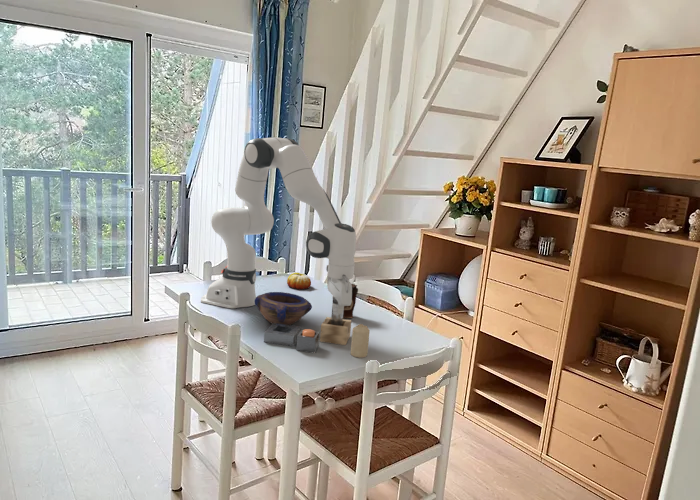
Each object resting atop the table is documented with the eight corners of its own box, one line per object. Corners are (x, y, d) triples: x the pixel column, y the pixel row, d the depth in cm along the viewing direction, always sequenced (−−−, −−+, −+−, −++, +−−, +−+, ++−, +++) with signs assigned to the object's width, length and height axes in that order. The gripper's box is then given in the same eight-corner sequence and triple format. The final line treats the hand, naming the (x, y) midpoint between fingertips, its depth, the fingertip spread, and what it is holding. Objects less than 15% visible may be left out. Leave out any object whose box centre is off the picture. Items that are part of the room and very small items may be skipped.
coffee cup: (353, 321, 206) (356, 289, 203) (332, 318, 207) (335, 286, 205) (357, 314, 214) (360, 283, 212) (337, 311, 216) (340, 281, 213)
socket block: (263, 341, 177) (264, 332, 176) (272, 332, 187) (273, 322, 186) (292, 346, 175) (293, 336, 175) (300, 336, 185) (301, 326, 184)
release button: (300, 345, 173) (301, 332, 172) (303, 341, 177) (304, 328, 176) (312, 347, 172) (313, 334, 171) (315, 342, 176) (316, 330, 175)
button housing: (296, 350, 172) (297, 335, 171) (301, 343, 178) (302, 329, 177) (314, 352, 171) (315, 338, 170) (318, 346, 177) (319, 332, 176)
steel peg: (331, 330, 182) (334, 300, 180) (329, 326, 186) (331, 296, 184) (343, 330, 183) (345, 300, 181) (340, 326, 187) (343, 296, 185)
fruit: (285, 288, 242) (286, 271, 242) (287, 289, 252) (288, 272, 253) (310, 290, 242) (311, 272, 243) (310, 290, 253) (311, 274, 253)
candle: (349, 350, 176) (352, 322, 174) (366, 351, 176) (369, 323, 174) (351, 357, 170) (353, 327, 168) (368, 358, 171) (371, 328, 169)
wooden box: (319, 341, 182) (321, 324, 180) (325, 332, 190) (326, 317, 189) (345, 345, 180) (347, 328, 179) (350, 336, 189) (351, 320, 188)
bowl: (316, 324, 198) (318, 299, 196) (277, 333, 186) (279, 306, 184) (287, 311, 211) (288, 287, 209) (248, 319, 198) (250, 293, 196)
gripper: (358, 279, 172) (354, 320, 174) (342, 265, 191) (339, 301, 194) (339, 279, 170) (335, 320, 173) (325, 264, 189) (322, 301, 192)
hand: (337, 310), depth 183 cm, fingers closed on steel peg, 4 cm apart
